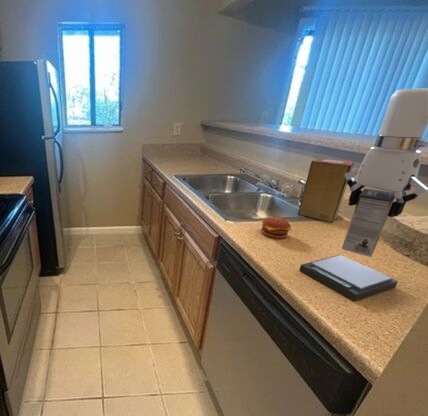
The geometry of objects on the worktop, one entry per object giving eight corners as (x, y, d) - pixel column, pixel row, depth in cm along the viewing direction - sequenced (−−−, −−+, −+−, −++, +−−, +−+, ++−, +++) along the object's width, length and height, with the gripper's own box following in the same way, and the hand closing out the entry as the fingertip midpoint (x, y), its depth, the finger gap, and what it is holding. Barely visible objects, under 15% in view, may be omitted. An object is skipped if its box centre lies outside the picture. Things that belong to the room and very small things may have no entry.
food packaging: (337, 217, 122) (355, 161, 113) (333, 223, 116) (351, 165, 108) (302, 209, 132) (316, 157, 123) (296, 214, 126) (310, 160, 117)
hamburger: (293, 239, 103) (297, 223, 101) (266, 239, 104) (270, 223, 102) (280, 228, 112) (283, 214, 110) (255, 228, 113) (258, 213, 110)
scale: (395, 287, 76) (399, 279, 75) (354, 301, 71) (357, 292, 70) (337, 260, 89) (339, 253, 88) (299, 270, 84) (301, 262, 83)
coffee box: (346, 238, 82) (364, 187, 76) (375, 246, 78) (396, 192, 72) (340, 249, 76) (359, 194, 71) (371, 258, 72) (394, 200, 66)
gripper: (457, 147, 60) (424, 220, 66) (364, 138, 75) (345, 198, 82) (437, 149, 58) (405, 225, 64) (346, 140, 73) (327, 201, 79)
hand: (372, 209), depth 73 cm, fingers closed on coffee box, 8 cm apart
